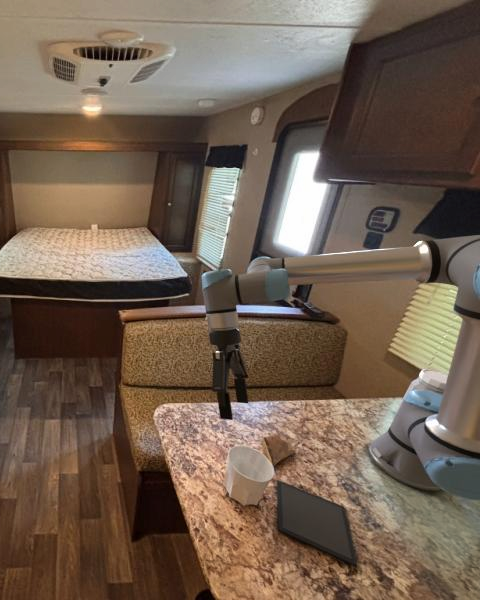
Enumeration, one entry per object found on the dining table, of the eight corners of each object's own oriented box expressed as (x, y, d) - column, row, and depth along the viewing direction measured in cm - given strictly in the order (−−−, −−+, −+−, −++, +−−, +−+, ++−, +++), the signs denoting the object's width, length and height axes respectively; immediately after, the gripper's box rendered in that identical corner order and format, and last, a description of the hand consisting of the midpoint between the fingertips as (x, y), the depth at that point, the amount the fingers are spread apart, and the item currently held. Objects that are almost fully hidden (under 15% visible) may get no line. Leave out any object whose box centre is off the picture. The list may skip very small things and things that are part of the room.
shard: (271, 468, 85) (273, 463, 85) (246, 447, 92) (248, 443, 91) (295, 454, 90) (297, 449, 89) (270, 435, 96) (272, 430, 96)
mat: (343, 508, 76) (344, 506, 76) (356, 567, 64) (357, 565, 64) (276, 481, 82) (277, 479, 82) (278, 531, 71) (279, 529, 70)
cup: (272, 509, 75) (283, 480, 71) (232, 511, 74) (241, 482, 71) (249, 471, 84) (258, 444, 80) (213, 473, 84) (220, 446, 80)
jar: (444, 436, 97) (474, 389, 90) (406, 429, 100) (432, 383, 93) (422, 414, 106) (448, 370, 99) (388, 408, 108) (410, 364, 101)
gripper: (224, 324, 94) (234, 395, 93) (190, 335, 76) (202, 424, 75) (252, 322, 89) (263, 398, 88) (222, 334, 71) (235, 429, 70)
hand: (235, 410), depth 81 cm, fingers open, 13 cm apart
